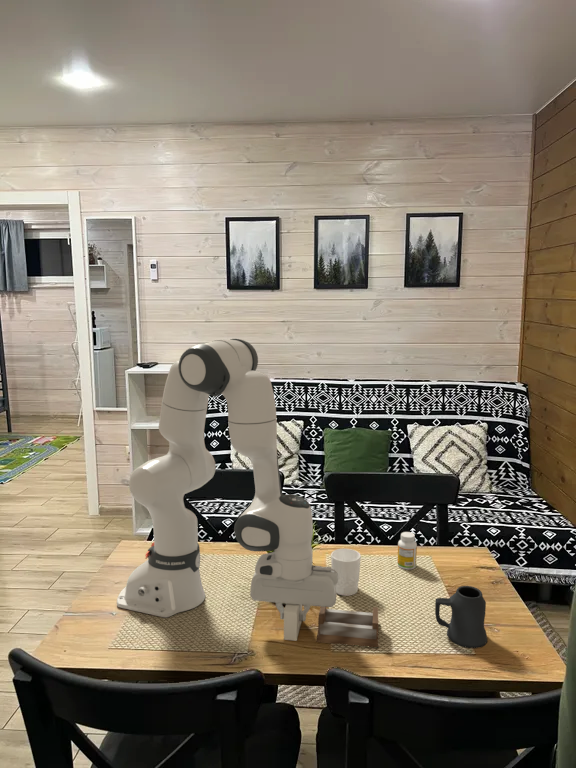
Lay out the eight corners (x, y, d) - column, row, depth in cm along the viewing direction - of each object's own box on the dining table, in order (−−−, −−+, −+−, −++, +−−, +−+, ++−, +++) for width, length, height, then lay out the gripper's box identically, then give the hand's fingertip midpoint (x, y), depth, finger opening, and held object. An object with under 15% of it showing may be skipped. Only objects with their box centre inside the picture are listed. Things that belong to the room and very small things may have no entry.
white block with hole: (296, 640, 133) (296, 612, 132) (281, 639, 133) (281, 611, 132) (301, 619, 142) (302, 592, 140) (287, 618, 142) (287, 591, 141)
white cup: (358, 598, 151) (359, 562, 150) (328, 595, 153) (329, 559, 152) (360, 584, 159) (361, 549, 158) (332, 581, 161) (333, 547, 159)
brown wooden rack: (316, 641, 132) (316, 621, 132) (320, 618, 142) (321, 599, 141) (378, 647, 130) (378, 627, 130) (378, 623, 140) (379, 604, 139)
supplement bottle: (404, 559, 174) (405, 529, 172) (419, 566, 170) (421, 534, 168) (393, 565, 170) (394, 534, 169) (408, 571, 166) (410, 540, 165)
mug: (484, 627, 138) (486, 583, 137) (490, 650, 130) (493, 603, 128) (432, 622, 141) (434, 579, 139) (435, 644, 132) (437, 598, 130)
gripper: (339, 561, 136) (337, 615, 138) (254, 554, 140) (254, 608, 142) (337, 574, 130) (335, 630, 132) (248, 566, 133) (248, 622, 135)
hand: (293, 618), depth 137 cm, fingers closed on white block with hole, 3 cm apart
